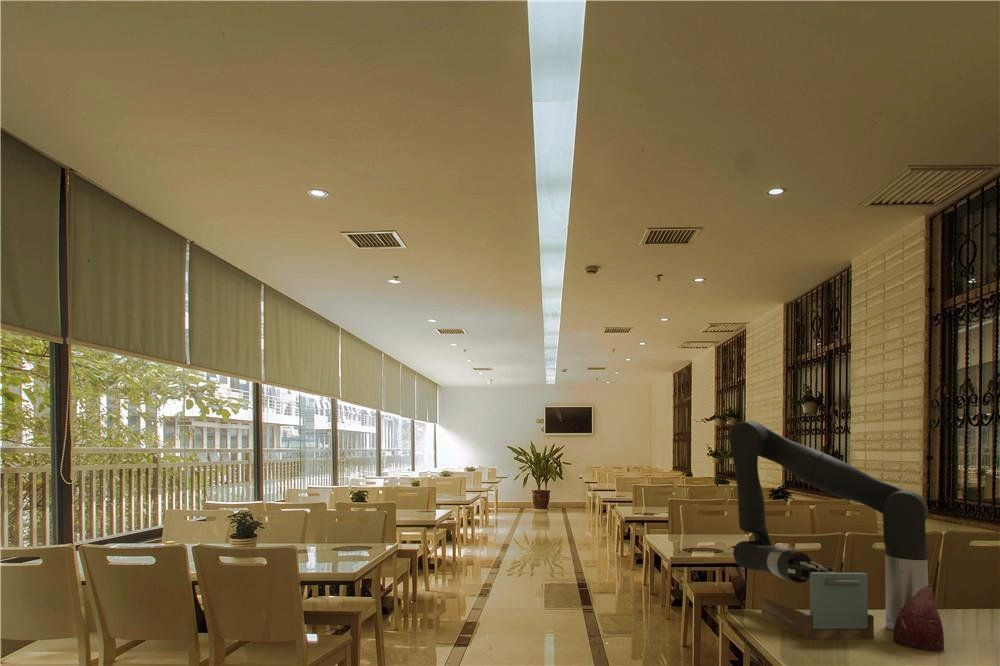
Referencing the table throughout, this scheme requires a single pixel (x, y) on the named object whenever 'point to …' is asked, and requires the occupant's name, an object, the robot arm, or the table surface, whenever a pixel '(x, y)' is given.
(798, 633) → the brown wooden tray
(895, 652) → the table surface
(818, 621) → the panel
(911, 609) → the vegetable
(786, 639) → the table surface
